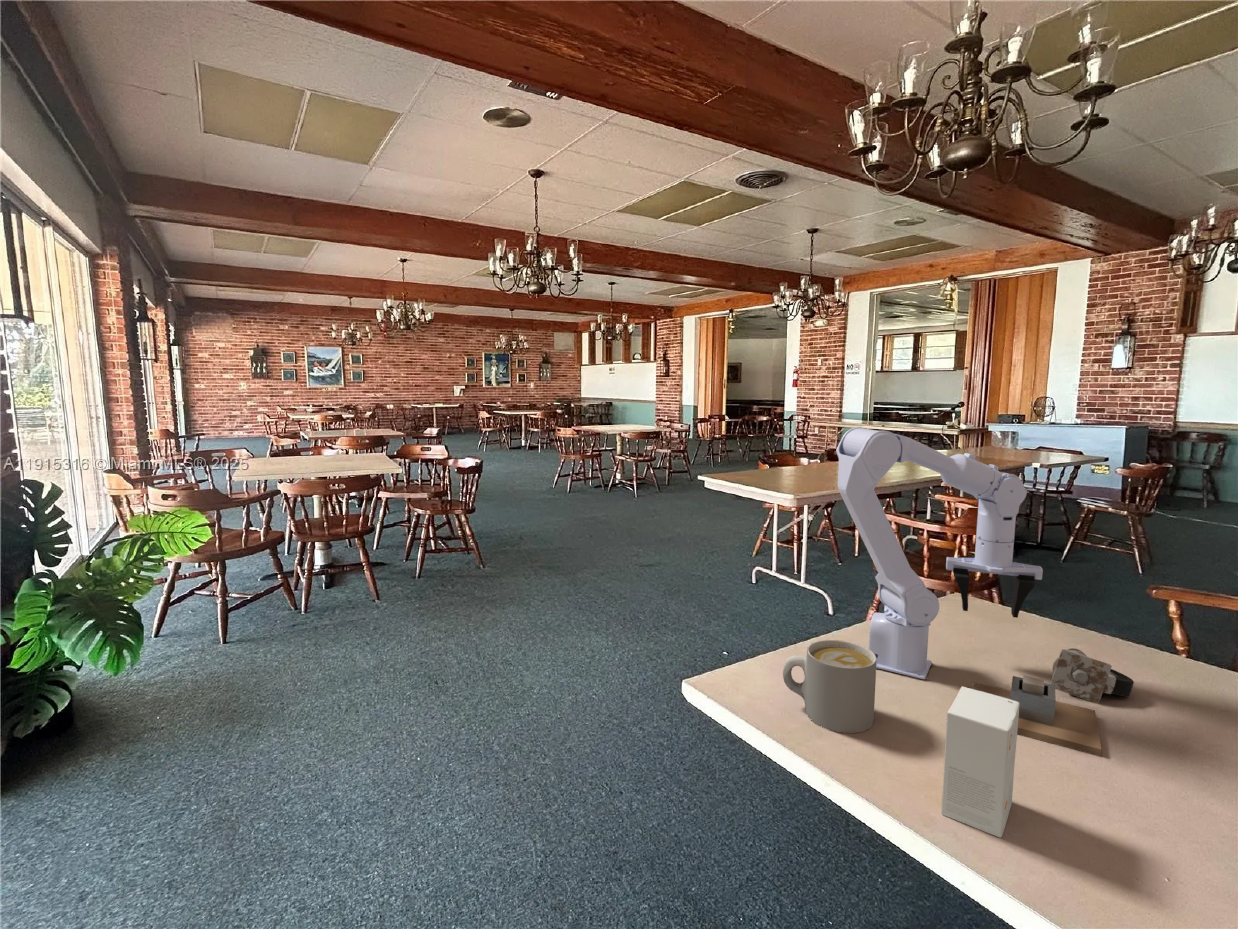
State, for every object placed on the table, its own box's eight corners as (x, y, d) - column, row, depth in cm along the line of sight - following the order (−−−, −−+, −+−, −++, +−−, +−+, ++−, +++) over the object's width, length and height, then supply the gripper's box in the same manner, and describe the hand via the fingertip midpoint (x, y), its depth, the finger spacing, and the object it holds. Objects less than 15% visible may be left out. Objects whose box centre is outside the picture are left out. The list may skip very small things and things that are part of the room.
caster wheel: (1117, 698, 102) (1135, 718, 93) (1039, 671, 107) (1049, 687, 98) (1129, 661, 102) (1149, 678, 93) (1051, 635, 107) (1062, 649, 98)
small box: (954, 780, 78) (961, 684, 76) (1012, 802, 74) (1021, 701, 72) (939, 815, 71) (945, 711, 70) (1001, 840, 67) (1010, 731, 66)
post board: (965, 720, 91) (968, 682, 91) (973, 687, 101) (975, 653, 100) (1100, 756, 82) (1104, 715, 81) (1094, 716, 92) (1098, 679, 91)
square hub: (1009, 715, 91) (1011, 690, 90) (1010, 699, 95) (1012, 675, 95) (1053, 726, 88) (1055, 700, 87) (1052, 710, 92) (1055, 685, 92)
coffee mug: (881, 711, 94) (884, 650, 93) (862, 741, 86) (865, 675, 85) (797, 686, 102) (799, 629, 101) (773, 711, 94) (775, 650, 93)
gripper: (949, 540, 107) (945, 613, 108) (1048, 548, 101) (1042, 626, 102) (947, 531, 113) (942, 601, 115) (1040, 538, 107) (1034, 612, 109)
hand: (989, 612), depth 109 cm, fingers open, 7 cm apart
